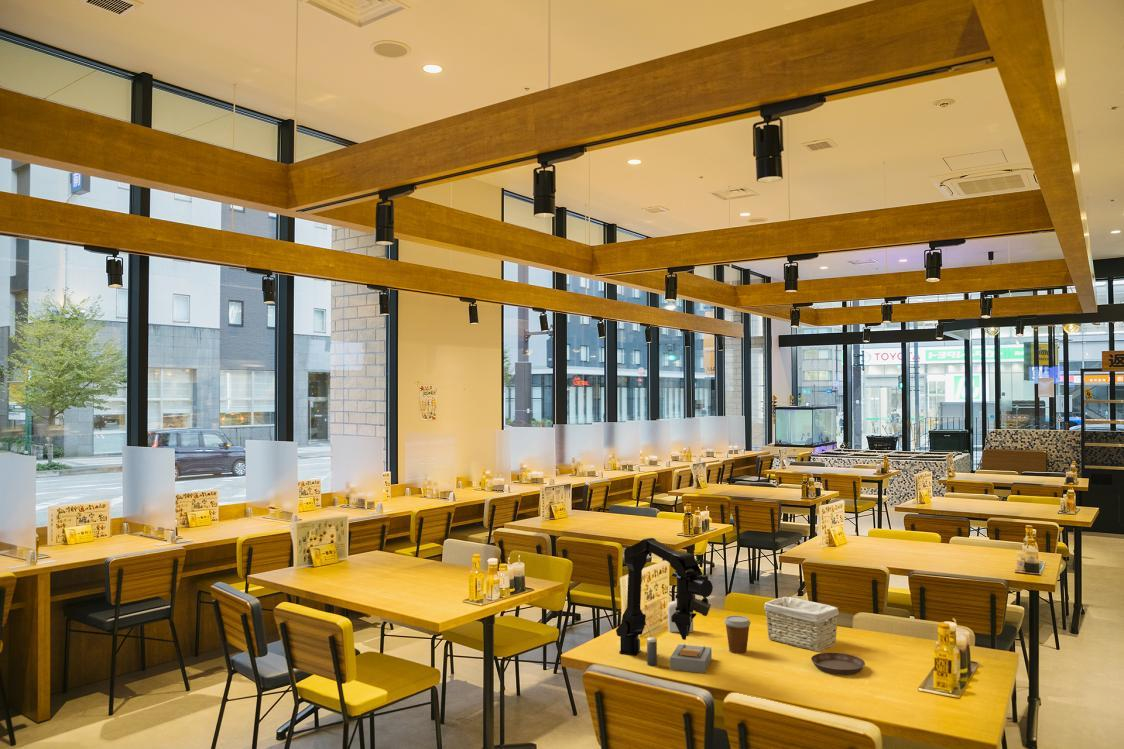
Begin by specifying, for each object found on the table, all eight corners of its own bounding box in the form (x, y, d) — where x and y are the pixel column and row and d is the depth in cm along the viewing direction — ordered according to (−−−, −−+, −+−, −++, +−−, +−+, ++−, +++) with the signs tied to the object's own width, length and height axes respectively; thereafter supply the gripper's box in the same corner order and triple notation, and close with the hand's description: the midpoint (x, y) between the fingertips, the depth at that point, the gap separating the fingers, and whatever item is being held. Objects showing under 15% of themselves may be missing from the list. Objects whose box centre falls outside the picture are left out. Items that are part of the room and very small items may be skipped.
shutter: (680, 654, 262) (680, 649, 262) (683, 649, 268) (683, 645, 268) (697, 656, 260) (697, 651, 260) (700, 651, 266) (699, 646, 266)
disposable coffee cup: (751, 656, 274) (751, 622, 275) (725, 654, 276) (724, 621, 277) (750, 648, 284) (749, 615, 284) (724, 646, 286) (724, 614, 286)
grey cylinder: (646, 665, 264) (646, 639, 265) (648, 662, 268) (648, 636, 268) (655, 666, 263) (655, 640, 264) (657, 663, 266) (657, 637, 267)
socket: (670, 669, 260) (669, 655, 261) (678, 655, 275) (678, 642, 276) (704, 673, 256) (704, 659, 257) (711, 658, 271) (711, 645, 272)
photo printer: (668, 632, 304) (668, 601, 305) (667, 629, 308) (667, 599, 309) (694, 633, 304) (693, 602, 304) (692, 630, 308) (692, 599, 309)
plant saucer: (831, 680, 250) (831, 670, 250) (801, 663, 267) (800, 654, 267) (876, 675, 255) (876, 665, 255) (843, 658, 272) (843, 650, 272)
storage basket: (841, 645, 287) (840, 606, 288) (819, 654, 276) (818, 613, 277) (785, 632, 305) (784, 595, 306) (763, 640, 294) (762, 602, 295)
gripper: (704, 599, 246) (705, 648, 245) (712, 587, 264) (713, 632, 263) (670, 596, 250) (671, 644, 249) (681, 585, 267) (681, 629, 266)
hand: (685, 637), depth 257 cm, fingers open, 5 cm apart
